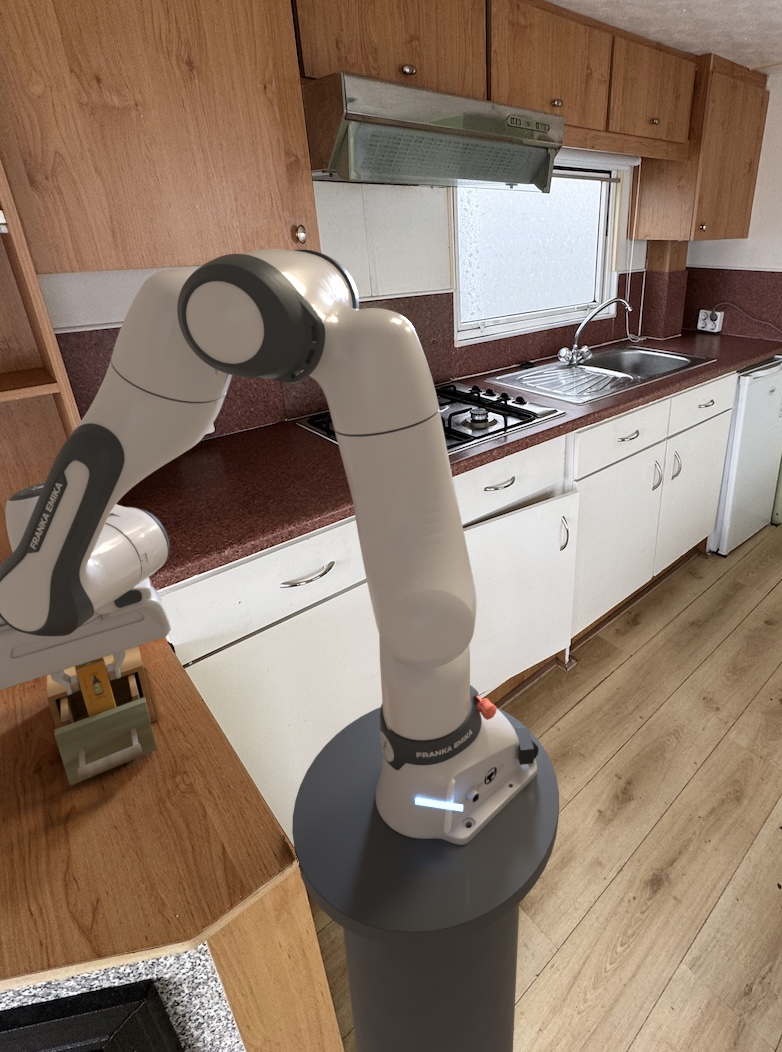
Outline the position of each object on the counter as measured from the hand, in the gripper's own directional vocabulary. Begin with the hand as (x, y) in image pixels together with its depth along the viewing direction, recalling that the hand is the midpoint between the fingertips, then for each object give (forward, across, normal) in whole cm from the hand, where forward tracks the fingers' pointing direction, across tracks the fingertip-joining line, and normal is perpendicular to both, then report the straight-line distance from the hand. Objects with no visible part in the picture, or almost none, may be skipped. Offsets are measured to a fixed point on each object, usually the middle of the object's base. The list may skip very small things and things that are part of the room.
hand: (95, 683), depth 80 cm
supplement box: (+6, 0, 0) cm, 6 cm away
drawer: (+12, 0, 0) cm, 12 cm away
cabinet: (+13, 0, +11) cm, 17 cm away
